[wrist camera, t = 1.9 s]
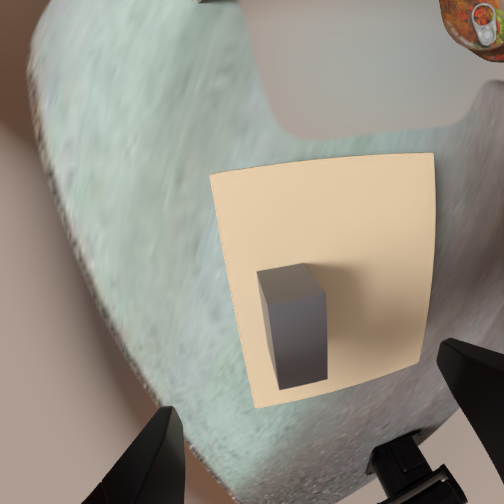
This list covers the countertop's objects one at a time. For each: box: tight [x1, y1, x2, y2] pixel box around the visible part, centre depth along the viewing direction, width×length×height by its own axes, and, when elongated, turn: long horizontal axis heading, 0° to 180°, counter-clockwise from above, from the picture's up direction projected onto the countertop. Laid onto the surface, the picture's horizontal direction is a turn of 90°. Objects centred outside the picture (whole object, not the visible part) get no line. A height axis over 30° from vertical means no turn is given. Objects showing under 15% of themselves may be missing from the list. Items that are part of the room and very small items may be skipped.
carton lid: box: [210, 153, 436, 409], centre depth 12 cm, size 12×10×4 cm
